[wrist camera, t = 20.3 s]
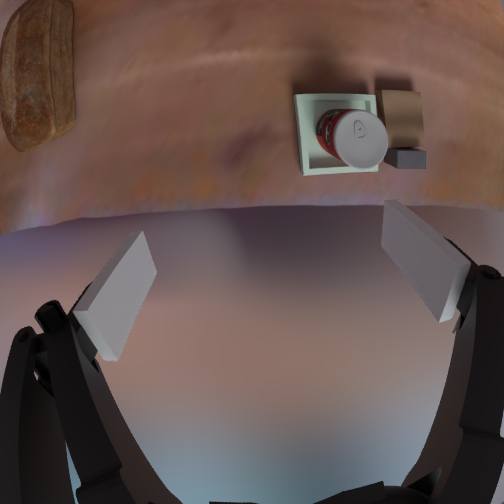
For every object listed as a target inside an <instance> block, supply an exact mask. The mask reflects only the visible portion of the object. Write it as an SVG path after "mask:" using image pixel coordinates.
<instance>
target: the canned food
mask: <svg viewBox="0 0 504 504" xmlns="http://www.w3.org/2000/svg"><path fill="white" fill-rule="evenodd" d="M316 137H317V140H318V142H319V144H320V146H321V147H322V148H323V149H324V150H325V151H326V152H328V153H329V154H331V155H332V156H334V157H336V158H337V159H339V160H340V161H342V162H344V163H345V164H347V165H349V166H351V167H353V168H357V169H370V168H372V167H375V166H376V165H378V164H379V163H380V162H381V161H382V160H383V158H384V156H385V155H386V152H387V148H388V135H387V131H386V128H385V126H384V124H383V123H382V121H381V120H380V119H379V118H378V117H377V116H376V115H374V114H372V113H371V112H368V111H365V110H360V109H331V110H328V111H326V112H325V113H323V114H322V115H321V117H320V118H319V120H318V122H317V125H316Z"/></svg>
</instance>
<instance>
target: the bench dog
mask: <svg viewBox="0 0 504 504" xmlns="http://www.w3.org/2000/svg"><path fill="white" fill-rule="evenodd" d="M384 162H385V163H387V164H389V165H391V166H393V167H395V168H397V169H426V151H423V150H420V149H417V148H414V147H396V148H387V152H386V155H385V156H384Z"/></svg>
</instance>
